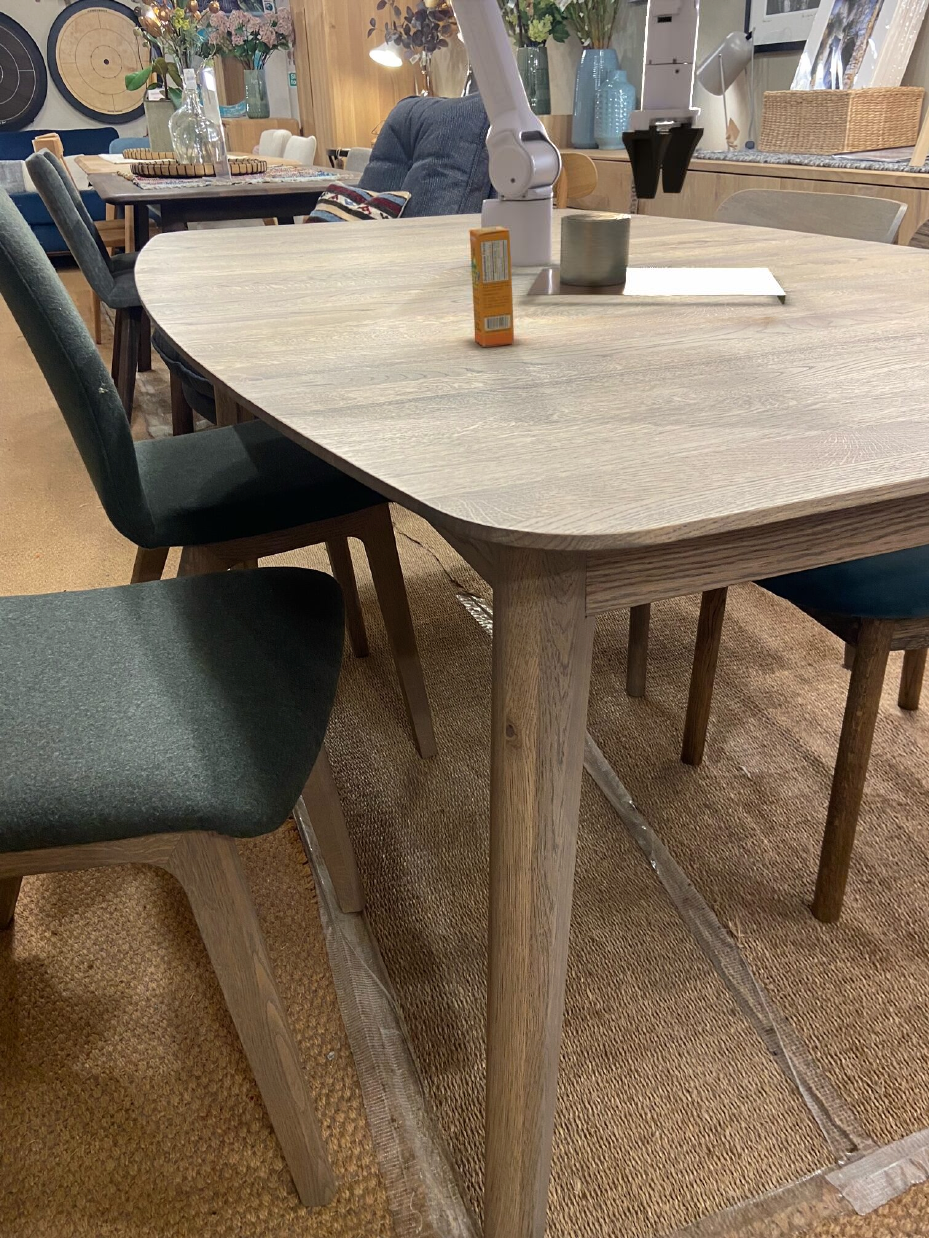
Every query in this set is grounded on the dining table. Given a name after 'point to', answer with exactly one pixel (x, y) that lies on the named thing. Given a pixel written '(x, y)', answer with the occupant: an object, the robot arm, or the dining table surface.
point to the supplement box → (492, 286)
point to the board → (680, 280)
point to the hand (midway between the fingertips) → (659, 196)
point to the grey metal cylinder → (594, 249)
